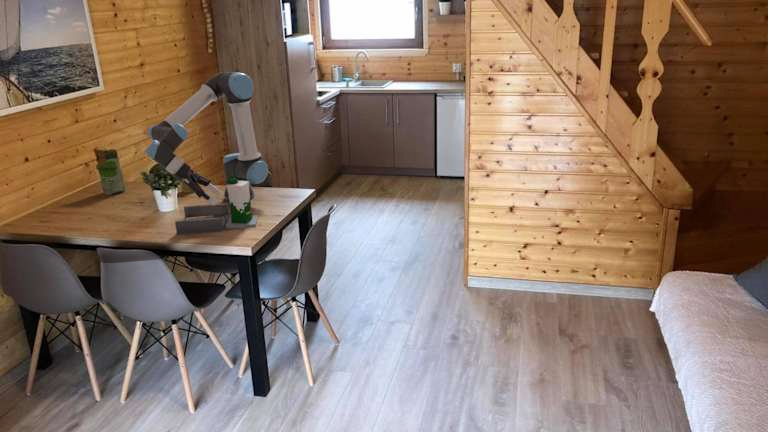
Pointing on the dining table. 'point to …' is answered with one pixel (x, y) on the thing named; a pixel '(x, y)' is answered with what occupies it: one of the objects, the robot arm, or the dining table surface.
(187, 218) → the offcut stack
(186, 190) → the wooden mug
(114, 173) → the pouch
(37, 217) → the dining table surface
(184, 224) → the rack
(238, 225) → the mat
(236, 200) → the soya milk
